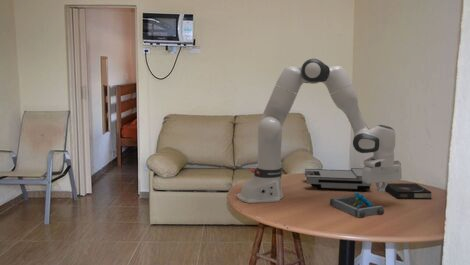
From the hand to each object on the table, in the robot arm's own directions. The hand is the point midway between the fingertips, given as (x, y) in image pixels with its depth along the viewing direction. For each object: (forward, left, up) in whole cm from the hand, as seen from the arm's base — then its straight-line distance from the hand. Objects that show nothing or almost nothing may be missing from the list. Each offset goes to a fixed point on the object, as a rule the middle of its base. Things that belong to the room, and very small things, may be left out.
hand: (380, 191), depth 193 cm
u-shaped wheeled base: (-14, -1, -6) cm, 15 cm away
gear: (-11, -1, -7) cm, 13 cm away
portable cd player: (+25, +9, -7) cm, 28 cm away
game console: (+2, +36, -7) cm, 36 cm away
